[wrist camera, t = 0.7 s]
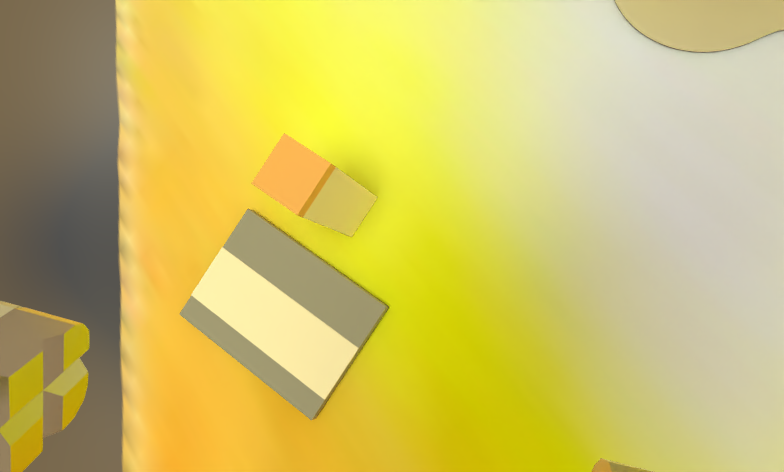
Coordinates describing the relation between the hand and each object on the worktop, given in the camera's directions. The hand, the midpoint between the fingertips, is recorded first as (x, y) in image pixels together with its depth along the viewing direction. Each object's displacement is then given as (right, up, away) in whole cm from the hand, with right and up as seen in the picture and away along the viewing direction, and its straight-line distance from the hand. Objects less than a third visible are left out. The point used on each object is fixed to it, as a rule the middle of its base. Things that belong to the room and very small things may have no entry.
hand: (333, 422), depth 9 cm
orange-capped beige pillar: (-3, +6, +41) cm, 42 cm away
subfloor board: (-8, -3, +42) cm, 43 cm away
